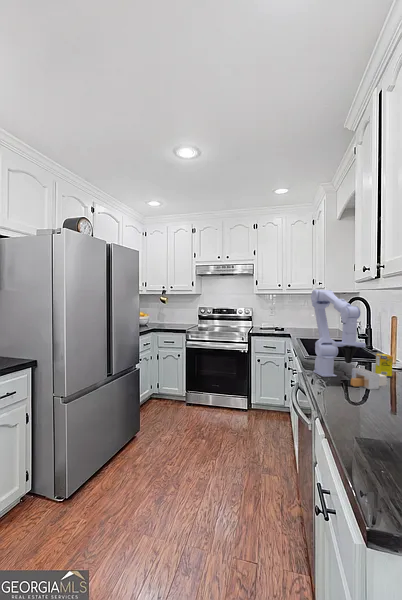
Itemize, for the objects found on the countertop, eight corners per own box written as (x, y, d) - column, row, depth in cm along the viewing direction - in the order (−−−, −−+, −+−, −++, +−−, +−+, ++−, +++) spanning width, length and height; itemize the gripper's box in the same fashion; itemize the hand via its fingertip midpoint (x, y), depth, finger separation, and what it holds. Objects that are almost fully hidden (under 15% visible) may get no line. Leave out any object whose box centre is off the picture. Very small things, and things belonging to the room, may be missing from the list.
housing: (351, 381, 146) (352, 368, 146) (361, 381, 147) (361, 368, 147) (368, 389, 135) (369, 374, 134) (378, 389, 135) (379, 374, 135)
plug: (349, 384, 142) (349, 374, 142) (381, 383, 145) (382, 373, 145) (355, 386, 138) (355, 377, 138) (388, 385, 141) (389, 376, 141)
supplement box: (392, 378, 155) (393, 356, 154) (379, 377, 156) (380, 355, 155) (387, 374, 160) (388, 354, 160) (374, 374, 162) (375, 353, 161)
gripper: (338, 333, 134) (336, 364, 135) (370, 334, 135) (368, 365, 135) (330, 331, 141) (329, 360, 142) (361, 332, 142) (359, 361, 142)
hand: (348, 362), depth 139 cm, fingers closed
